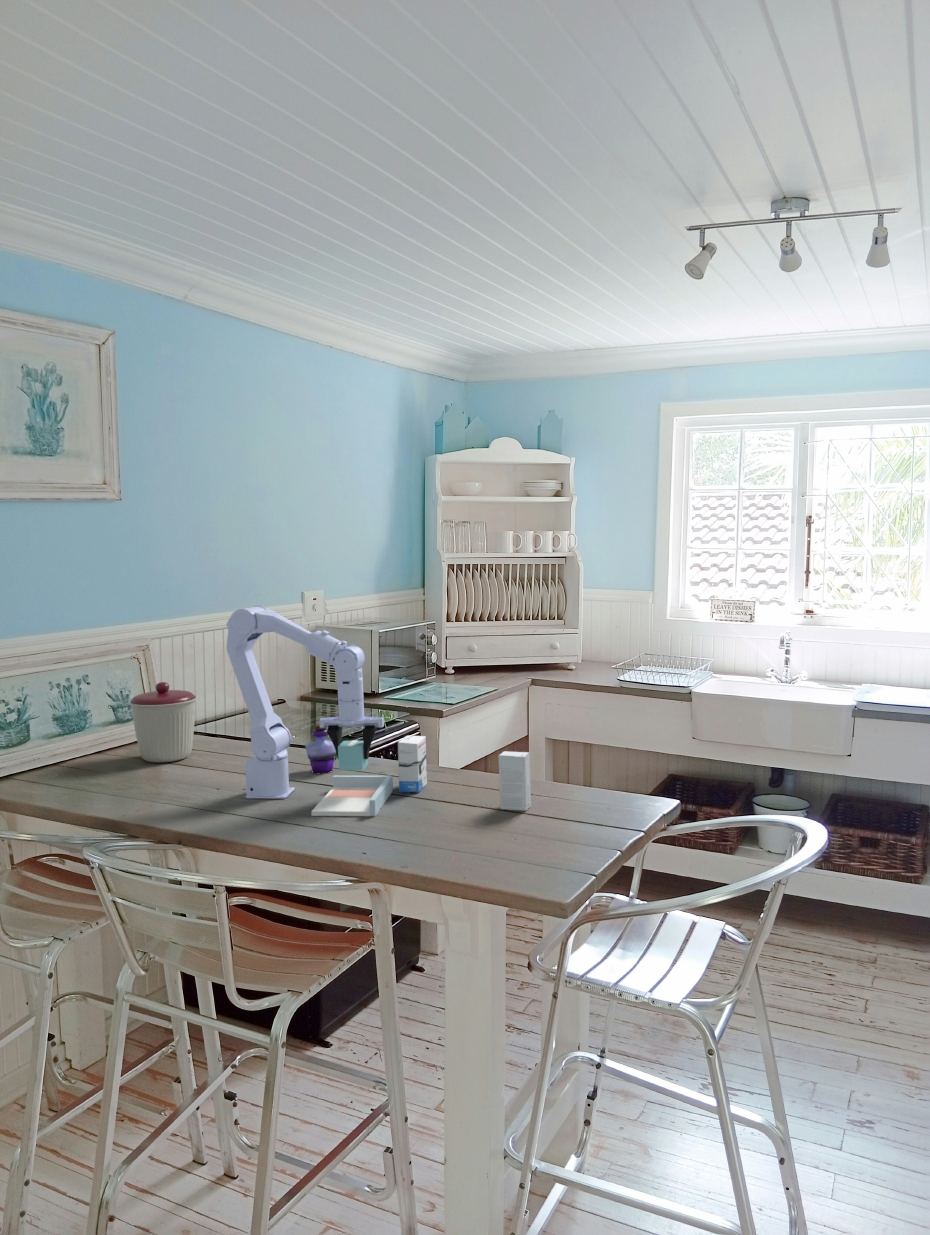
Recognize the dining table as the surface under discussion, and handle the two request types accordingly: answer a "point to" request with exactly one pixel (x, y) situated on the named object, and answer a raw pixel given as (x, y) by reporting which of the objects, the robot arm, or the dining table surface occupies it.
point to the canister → (164, 723)
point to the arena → (355, 796)
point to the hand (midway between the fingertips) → (353, 758)
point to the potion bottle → (321, 751)
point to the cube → (351, 755)
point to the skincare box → (514, 780)
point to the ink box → (412, 763)
